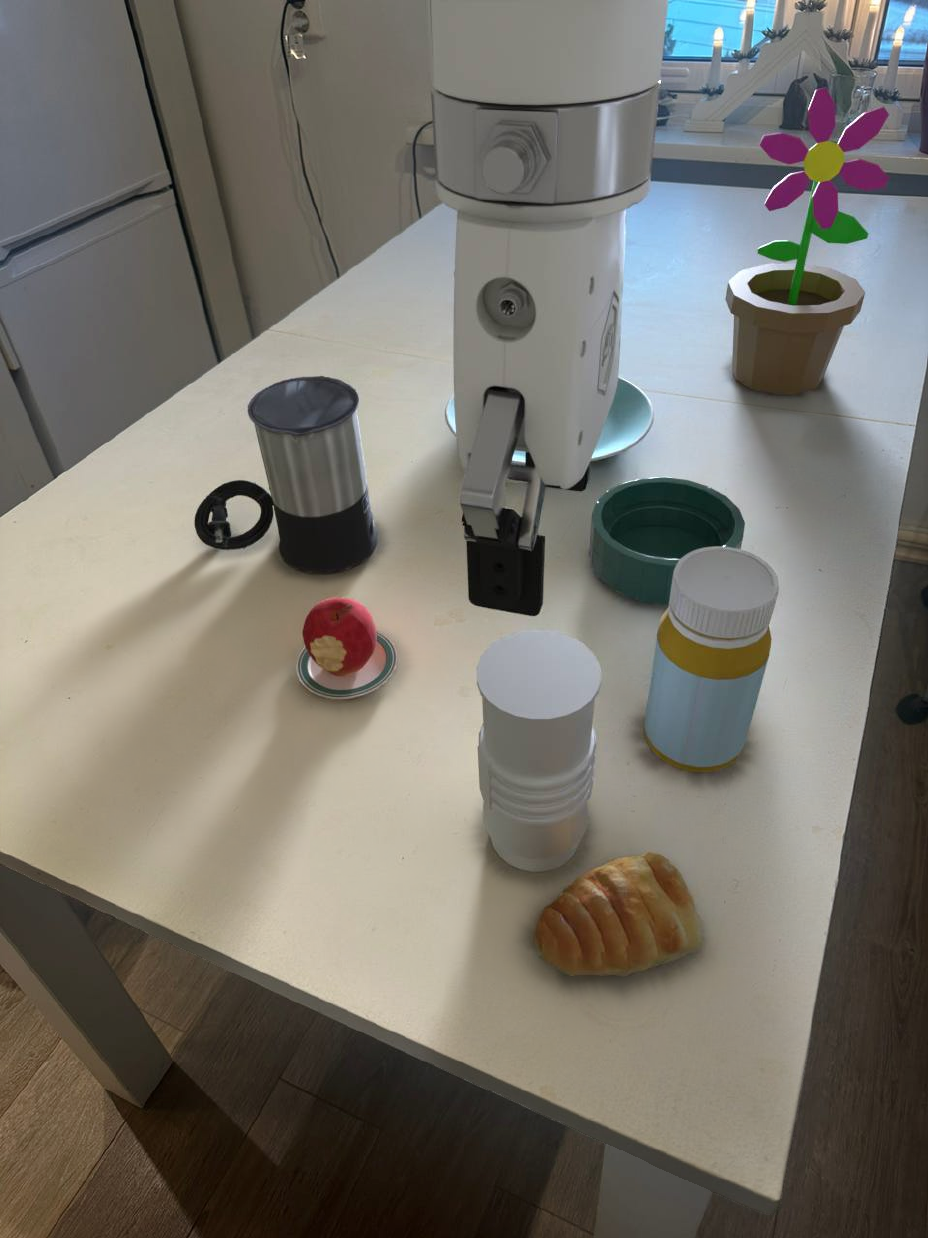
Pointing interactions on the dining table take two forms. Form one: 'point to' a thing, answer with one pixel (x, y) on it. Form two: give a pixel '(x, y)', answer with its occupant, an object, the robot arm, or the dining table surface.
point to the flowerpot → (803, 261)
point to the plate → (621, 426)
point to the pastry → (620, 919)
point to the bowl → (657, 532)
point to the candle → (537, 745)
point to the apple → (344, 651)
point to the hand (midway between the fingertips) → (533, 541)
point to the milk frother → (303, 479)
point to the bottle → (710, 658)
